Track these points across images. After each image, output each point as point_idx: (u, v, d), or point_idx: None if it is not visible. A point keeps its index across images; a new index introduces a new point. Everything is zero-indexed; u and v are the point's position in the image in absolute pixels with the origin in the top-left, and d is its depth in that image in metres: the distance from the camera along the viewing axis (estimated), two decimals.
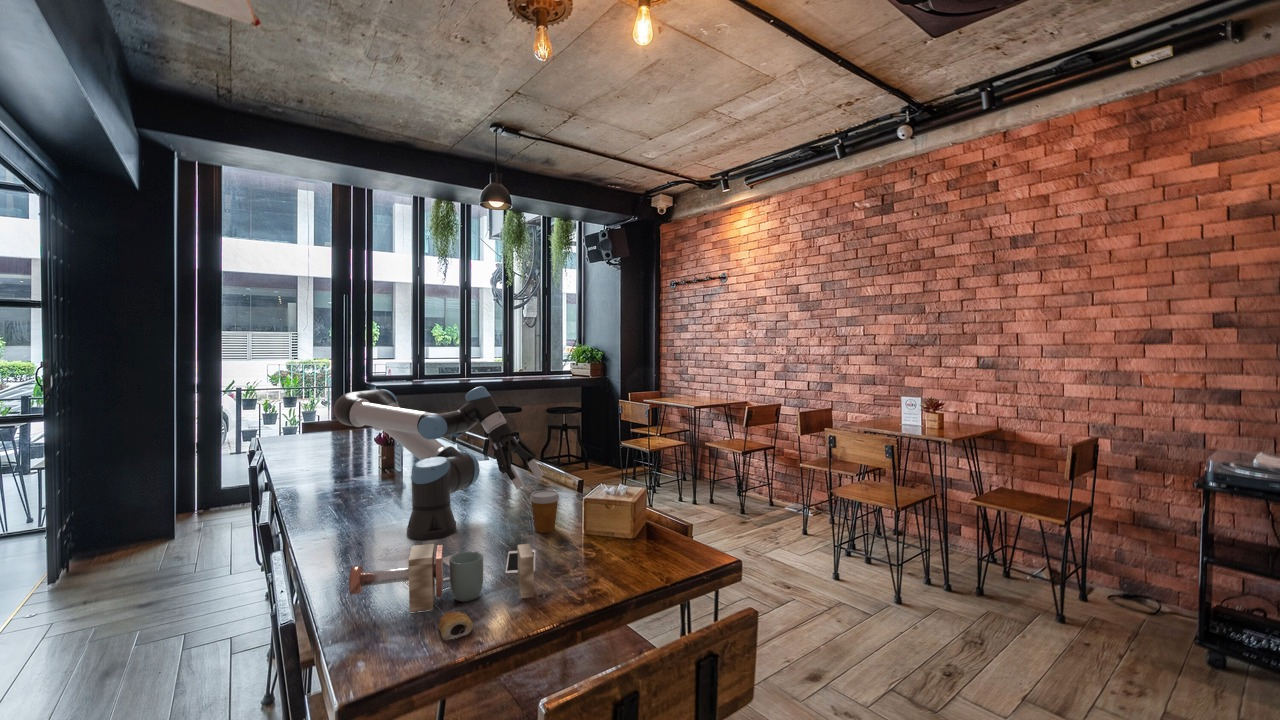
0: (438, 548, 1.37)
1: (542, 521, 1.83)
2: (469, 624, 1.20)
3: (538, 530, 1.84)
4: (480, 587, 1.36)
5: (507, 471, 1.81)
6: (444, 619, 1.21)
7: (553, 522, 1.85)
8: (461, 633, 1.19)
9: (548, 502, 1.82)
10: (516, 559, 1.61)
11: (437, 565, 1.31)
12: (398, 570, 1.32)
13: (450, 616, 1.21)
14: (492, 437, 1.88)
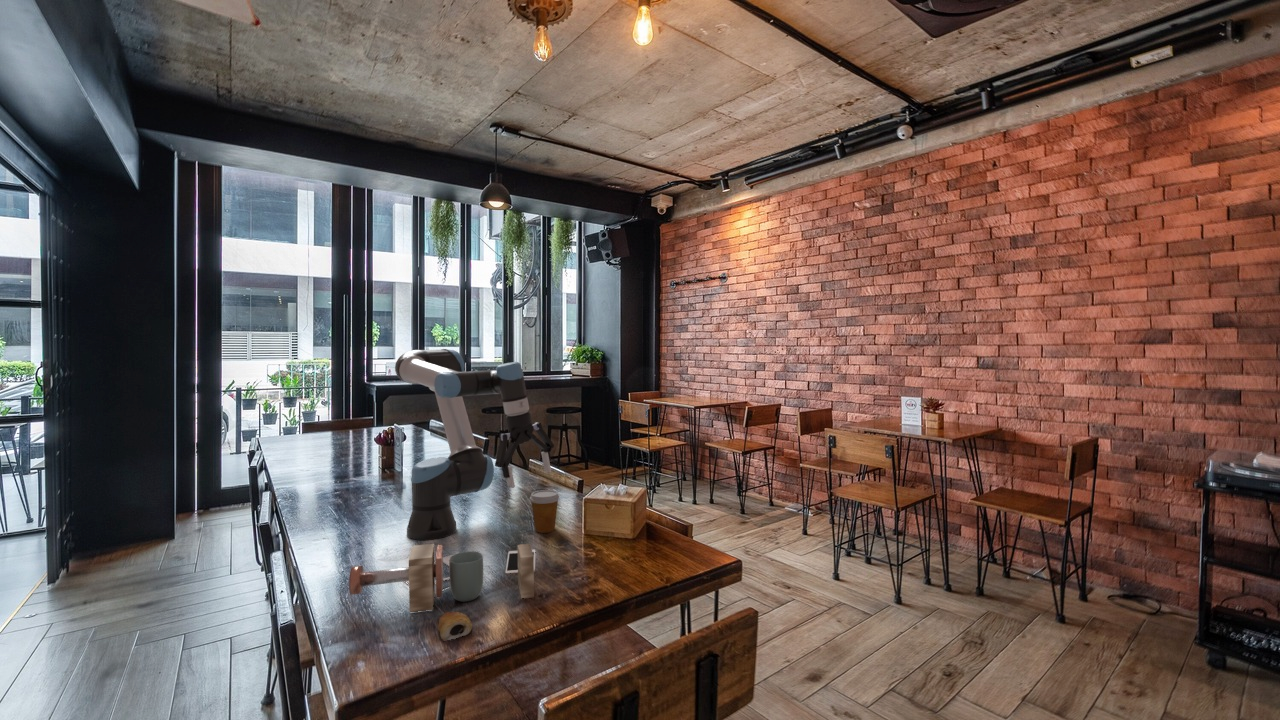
0: (438, 548, 1.37)
1: (542, 521, 1.83)
2: (468, 624, 1.20)
3: (538, 530, 1.84)
4: (480, 587, 1.36)
5: (503, 468, 1.69)
6: (443, 619, 1.20)
7: (553, 522, 1.85)
8: (460, 633, 1.19)
9: (548, 502, 1.82)
10: (516, 559, 1.61)
11: (437, 565, 1.31)
12: (398, 570, 1.32)
13: (449, 616, 1.21)
14: None
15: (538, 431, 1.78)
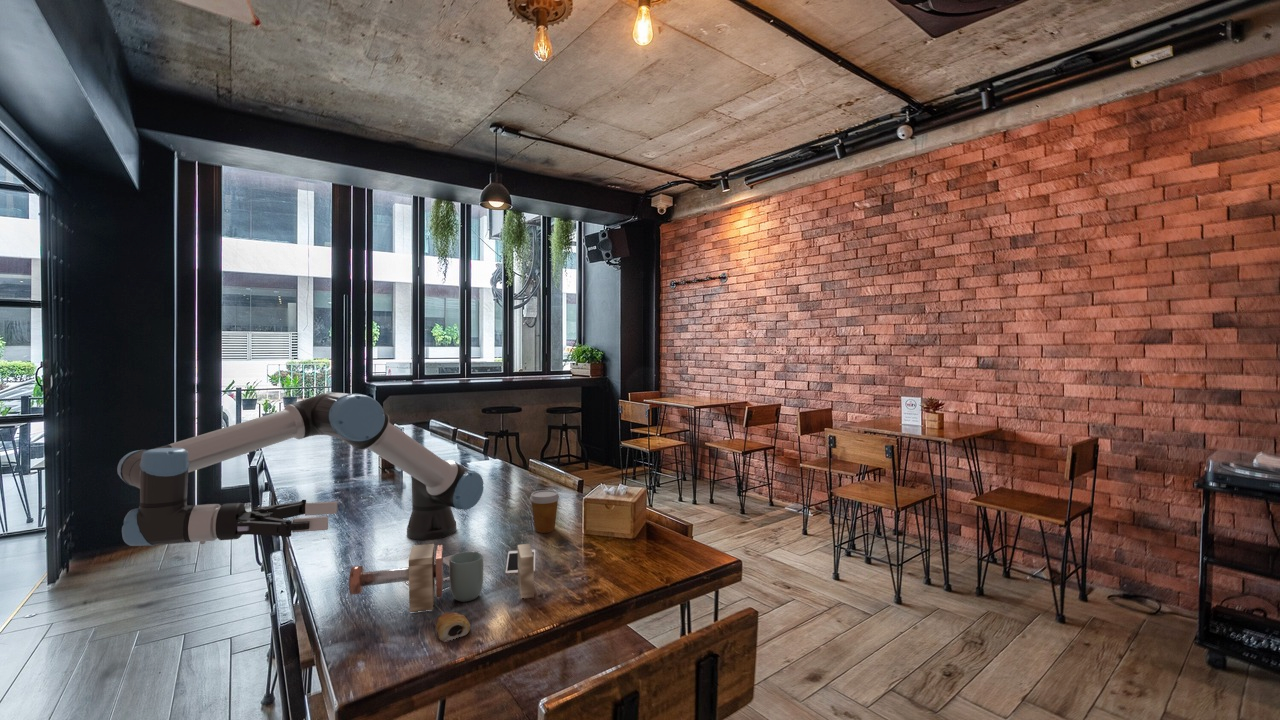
0: (438, 548, 1.37)
1: (542, 521, 1.83)
2: (467, 625, 1.19)
3: (538, 530, 1.84)
4: (480, 587, 1.36)
5: None
6: (441, 620, 1.20)
7: (553, 522, 1.85)
8: (458, 634, 1.19)
9: (548, 502, 1.82)
10: (516, 559, 1.61)
11: (437, 565, 1.31)
12: (398, 570, 1.32)
13: (447, 617, 1.21)
14: None
15: None
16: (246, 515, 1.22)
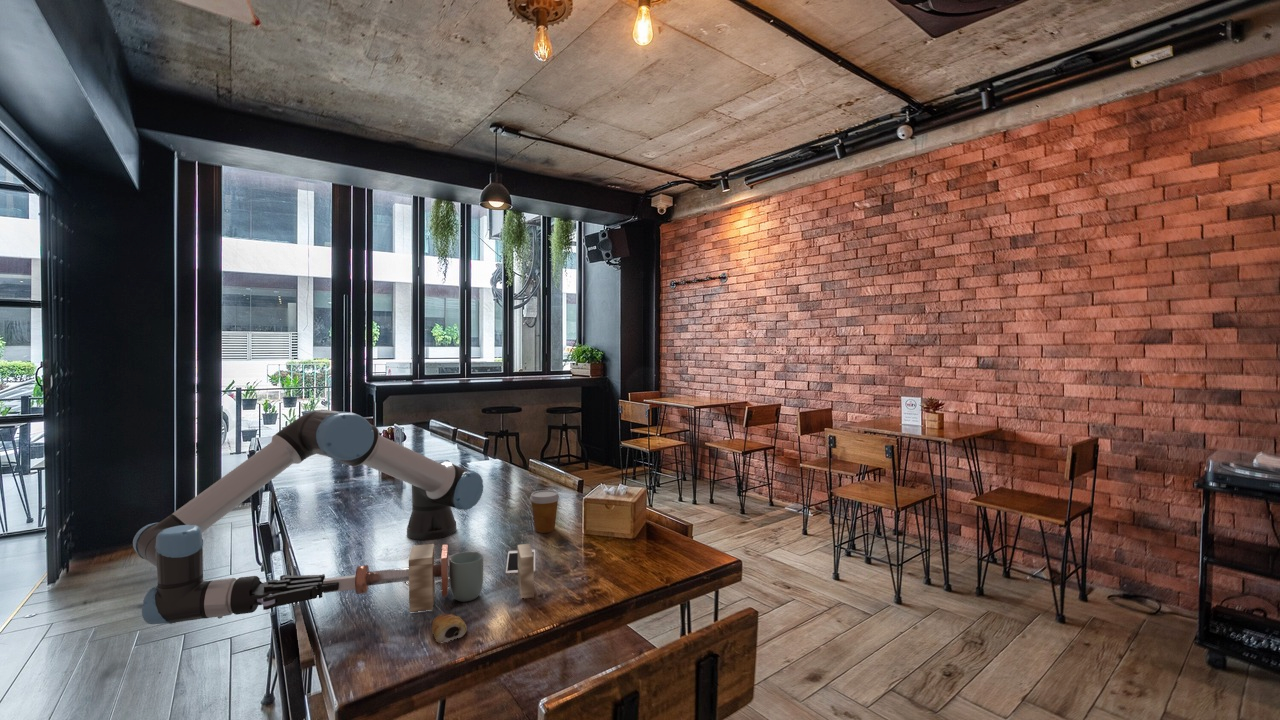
0: (443, 547, 1.37)
1: (542, 521, 1.83)
2: (463, 626, 1.19)
3: (538, 530, 1.84)
4: (480, 587, 1.36)
5: None
6: (437, 622, 1.19)
7: (553, 522, 1.85)
8: (455, 636, 1.18)
9: (548, 502, 1.82)
10: (516, 559, 1.61)
11: (442, 564, 1.31)
12: (404, 569, 1.32)
13: (443, 619, 1.20)
14: None
15: None
16: (260, 588, 1.24)
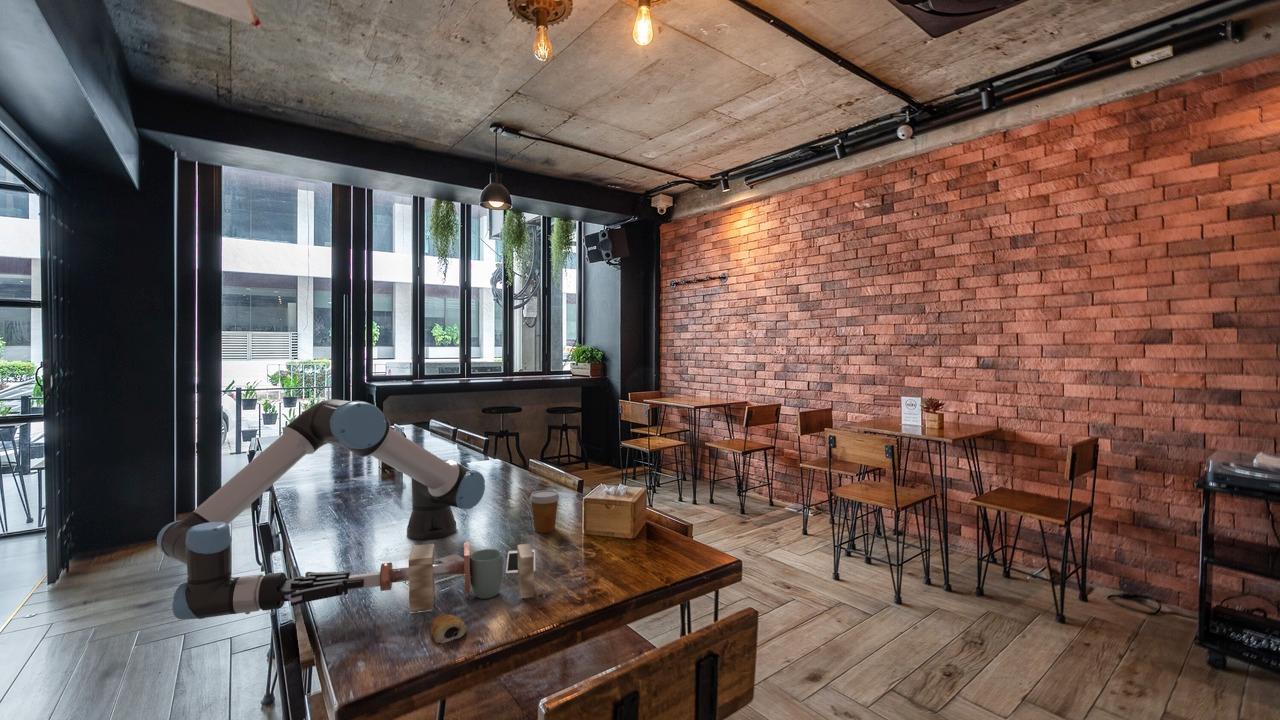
0: (465, 545, 1.39)
1: (542, 521, 1.83)
2: (463, 626, 1.19)
3: (538, 530, 1.84)
4: (500, 584, 1.37)
5: None
6: (436, 622, 1.19)
7: (553, 522, 1.85)
8: (454, 636, 1.18)
9: (548, 502, 1.82)
10: (516, 559, 1.61)
11: (465, 562, 1.32)
12: None
13: (442, 619, 1.20)
14: None
15: None
16: (287, 585, 1.25)
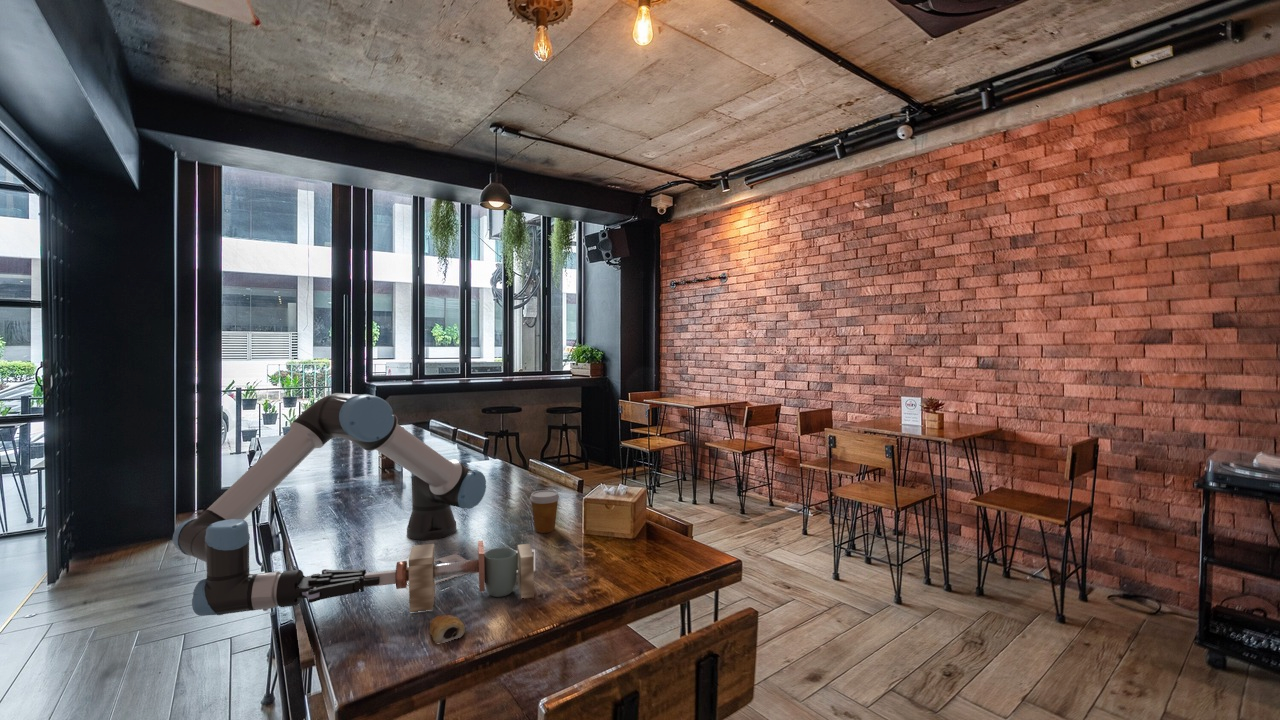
0: (479, 544, 1.40)
1: (542, 521, 1.83)
2: (462, 627, 1.19)
3: (538, 530, 1.84)
4: (514, 583, 1.38)
5: None
6: (435, 623, 1.19)
7: (553, 522, 1.85)
8: (453, 636, 1.18)
9: (548, 502, 1.82)
10: None
11: (480, 560, 1.33)
12: (442, 565, 1.35)
13: (441, 620, 1.19)
14: None
15: None
16: (304, 582, 1.26)
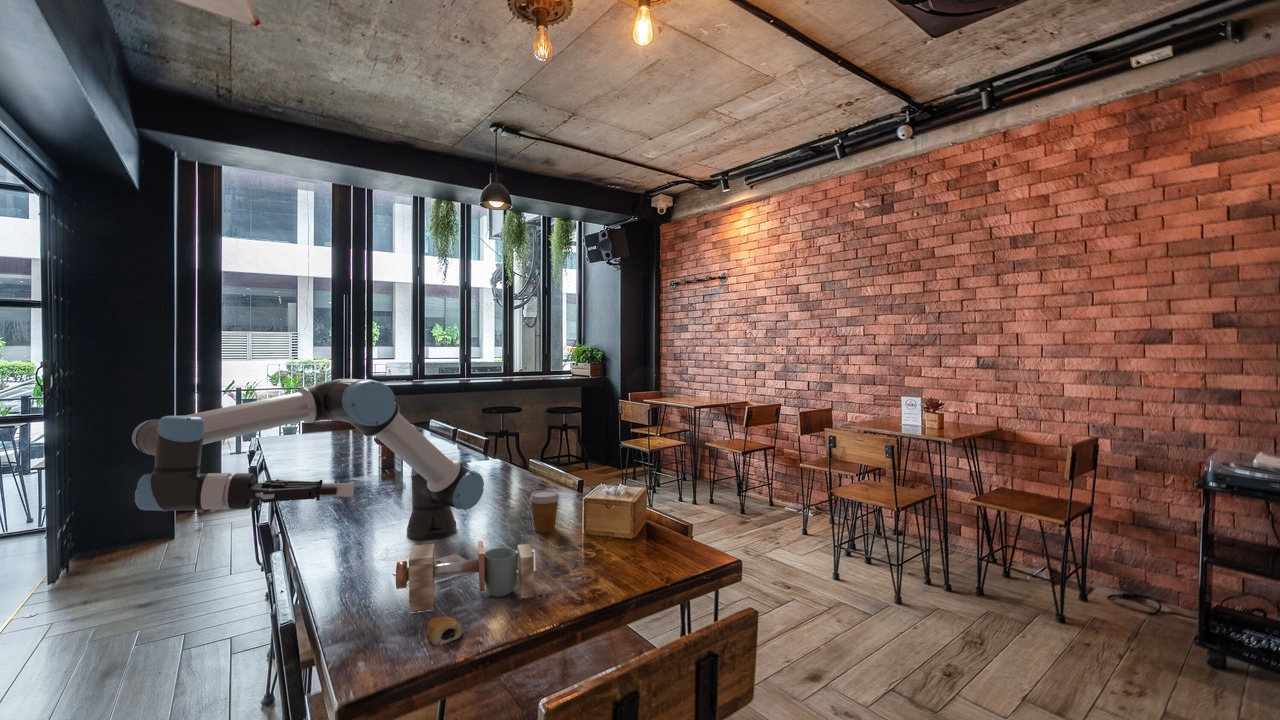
0: (479, 544, 1.40)
1: (542, 521, 1.83)
2: (459, 628, 1.18)
3: (538, 530, 1.84)
4: (514, 583, 1.38)
5: None
6: (433, 624, 1.18)
7: (553, 522, 1.85)
8: (451, 637, 1.18)
9: (548, 502, 1.82)
10: None
11: (480, 560, 1.33)
12: (442, 565, 1.35)
13: (439, 621, 1.19)
14: None
15: None
16: (257, 486, 1.23)
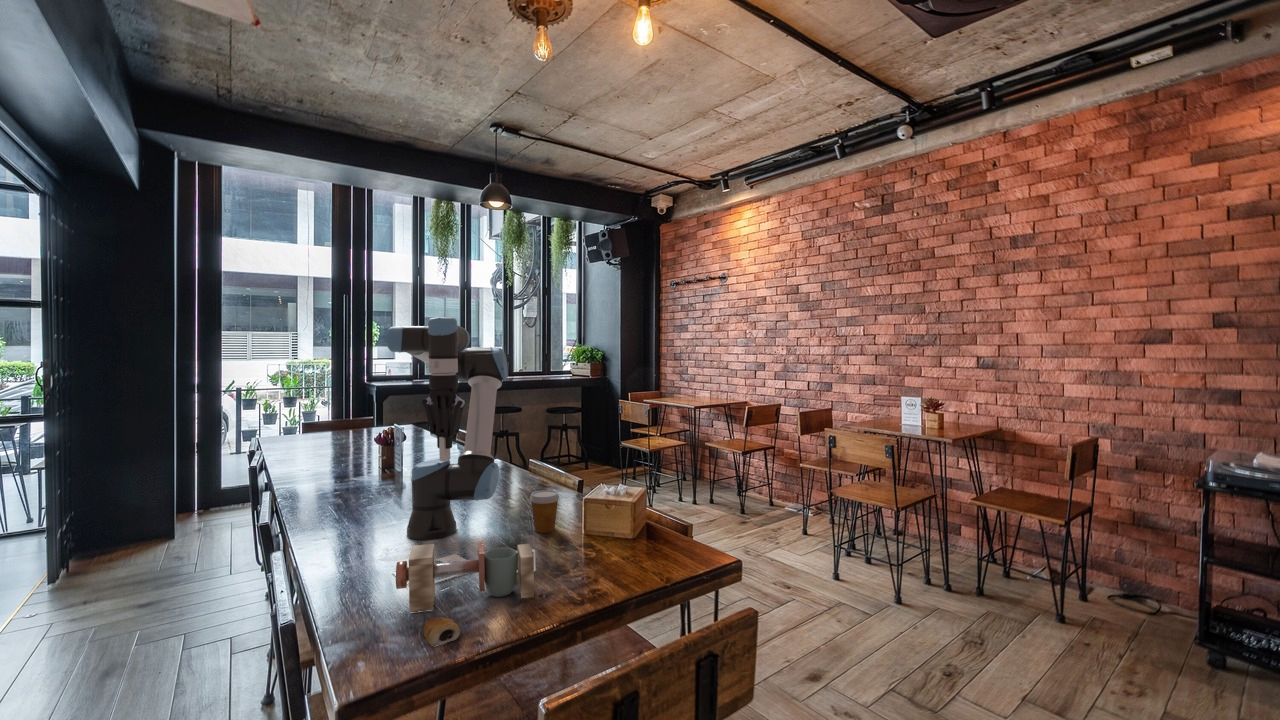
0: (479, 544, 1.40)
1: (542, 521, 1.83)
2: (457, 629, 1.18)
3: (538, 530, 1.84)
4: (514, 583, 1.38)
5: None
6: (430, 626, 1.18)
7: (553, 522, 1.85)
8: (449, 639, 1.17)
9: (548, 502, 1.82)
10: None
11: (480, 560, 1.33)
12: (442, 565, 1.35)
13: (436, 622, 1.18)
14: None
15: None
16: None
